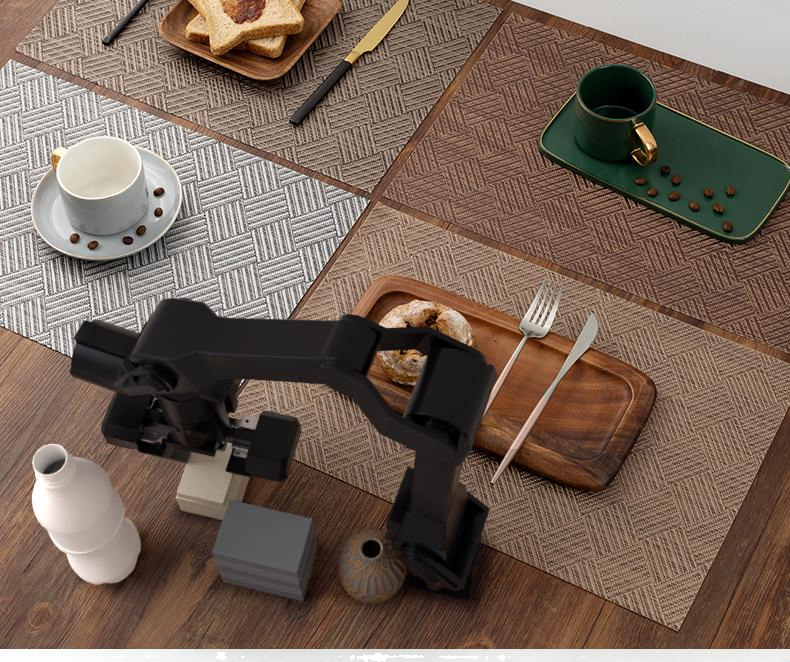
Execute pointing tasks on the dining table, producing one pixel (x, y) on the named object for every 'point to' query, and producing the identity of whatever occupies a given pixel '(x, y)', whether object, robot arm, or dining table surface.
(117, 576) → the water bottle
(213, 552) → the grey stack
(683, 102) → the dining table surface
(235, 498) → the beige rectangular block
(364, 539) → the vase
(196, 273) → the dining table surface
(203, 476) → the beige flat block
